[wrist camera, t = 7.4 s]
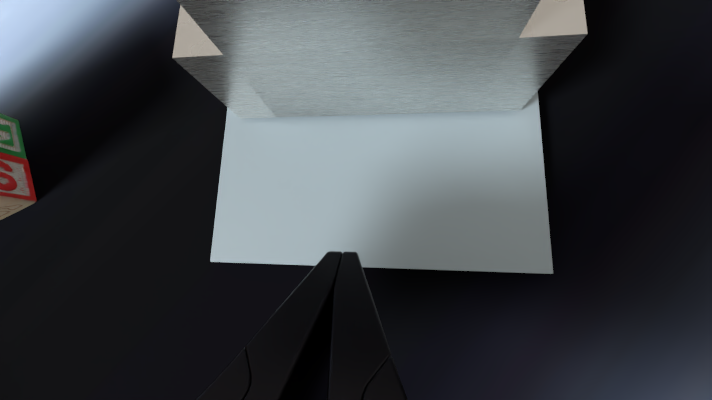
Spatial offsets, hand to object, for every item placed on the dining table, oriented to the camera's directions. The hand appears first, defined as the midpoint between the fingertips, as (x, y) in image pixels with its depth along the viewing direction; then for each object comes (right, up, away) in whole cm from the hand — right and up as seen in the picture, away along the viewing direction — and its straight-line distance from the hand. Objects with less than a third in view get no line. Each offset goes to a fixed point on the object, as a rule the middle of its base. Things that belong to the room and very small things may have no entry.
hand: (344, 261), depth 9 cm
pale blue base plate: (+4, +8, +8) cm, 12 cm away
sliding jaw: (+1, +8, +7) cm, 11 cm away
